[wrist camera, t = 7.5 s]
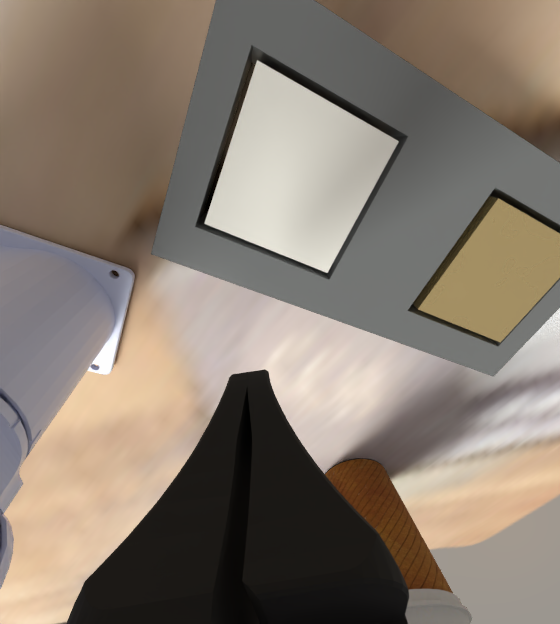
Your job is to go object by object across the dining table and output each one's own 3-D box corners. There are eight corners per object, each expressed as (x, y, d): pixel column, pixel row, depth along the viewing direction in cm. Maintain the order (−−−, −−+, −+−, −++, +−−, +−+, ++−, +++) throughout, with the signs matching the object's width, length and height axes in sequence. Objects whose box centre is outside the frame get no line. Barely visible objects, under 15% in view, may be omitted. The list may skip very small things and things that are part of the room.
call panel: (166, 236, 17) (151, 253, 14) (234, -16, 12) (230, -56, 10) (465, 349, 23) (493, 376, 20) (588, 207, 18) (644, 219, 16)
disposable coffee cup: (381, 432, 27) (465, 619, 16) (414, 484, 31) (496, 657, 21) (286, 473, 29) (307, 666, 18) (330, 516, 33) (366, 692, 23)
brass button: (395, 286, 20) (417, 309, 17) (460, 188, 17) (498, 198, 14) (469, 317, 21) (500, 342, 19) (539, 233, 19) (586, 248, 16)
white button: (211, 209, 16) (204, 223, 14) (255, 74, 14) (257, 60, 11) (316, 253, 18) (327, 273, 15) (373, 140, 15) (398, 141, 13)
